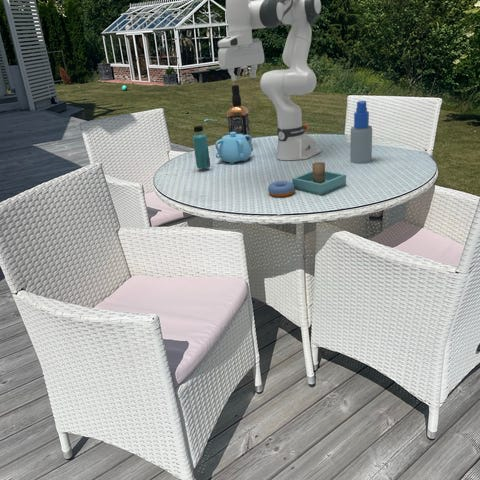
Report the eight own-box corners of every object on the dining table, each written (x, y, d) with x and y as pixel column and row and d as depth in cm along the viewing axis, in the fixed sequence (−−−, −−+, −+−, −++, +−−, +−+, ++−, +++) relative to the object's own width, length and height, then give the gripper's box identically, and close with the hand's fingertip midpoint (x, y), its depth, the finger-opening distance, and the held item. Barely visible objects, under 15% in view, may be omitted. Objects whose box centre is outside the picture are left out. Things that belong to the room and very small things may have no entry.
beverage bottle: (209, 171, 202) (203, 127, 194) (195, 172, 204) (188, 128, 196) (212, 167, 208) (207, 124, 200) (199, 168, 210) (193, 125, 201)
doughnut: (262, 195, 165) (263, 183, 163) (276, 188, 173) (276, 177, 171) (286, 201, 160) (287, 189, 158) (299, 193, 168) (300, 182, 166)
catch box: (317, 179, 177) (316, 169, 176) (345, 185, 167) (345, 174, 166) (292, 188, 170) (292, 178, 168) (321, 195, 160) (321, 185, 158)
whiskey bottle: (252, 145, 242) (247, 83, 229) (248, 150, 233) (242, 85, 220) (233, 146, 245) (227, 84, 231) (229, 150, 236) (222, 87, 223)
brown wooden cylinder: (313, 182, 171) (313, 162, 167) (325, 182, 169) (325, 161, 166) (312, 186, 167) (311, 165, 163) (324, 186, 165) (324, 165, 162)
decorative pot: (212, 164, 214) (208, 135, 209) (229, 155, 227) (226, 128, 221) (242, 165, 207) (239, 136, 201) (257, 156, 219) (255, 128, 213)
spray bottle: (351, 158, 200) (351, 100, 190) (372, 157, 197) (373, 99, 187) (349, 163, 193) (349, 103, 182) (370, 163, 190) (372, 102, 179)
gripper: (255, 38, 175) (258, 75, 181) (214, 42, 164) (218, 82, 169) (266, 37, 170) (269, 75, 176) (224, 41, 159) (228, 82, 165)
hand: (243, 79), depth 173 cm, fingers open, 8 cm apart
